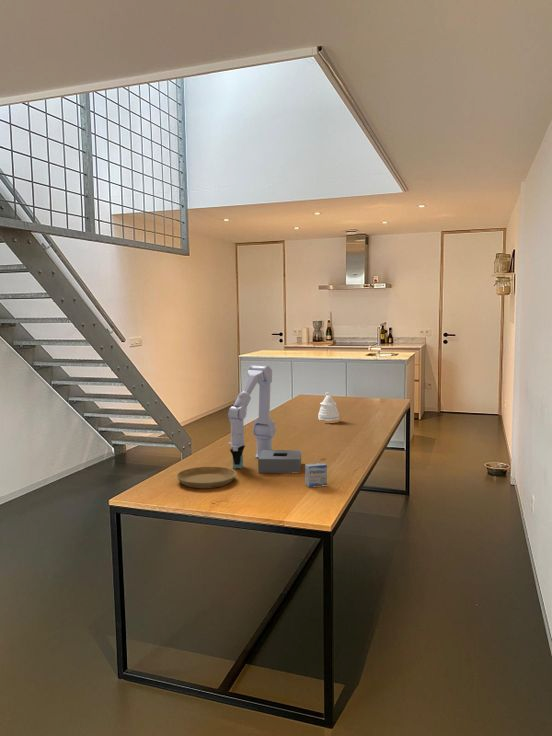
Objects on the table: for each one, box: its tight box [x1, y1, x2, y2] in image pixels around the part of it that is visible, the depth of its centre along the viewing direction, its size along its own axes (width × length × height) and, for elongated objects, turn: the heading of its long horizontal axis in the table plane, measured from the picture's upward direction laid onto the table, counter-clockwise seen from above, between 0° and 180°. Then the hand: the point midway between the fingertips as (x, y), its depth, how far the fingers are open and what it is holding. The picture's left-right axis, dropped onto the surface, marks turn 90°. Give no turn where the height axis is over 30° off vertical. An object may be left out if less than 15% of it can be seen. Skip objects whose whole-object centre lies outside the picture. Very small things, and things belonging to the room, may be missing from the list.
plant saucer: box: [176, 466, 237, 489], centre depth 237 cm, size 24×24×3 cm
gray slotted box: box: [257, 449, 302, 474], centre depth 255 cm, size 16×18×6 cm
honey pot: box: [317, 392, 340, 421], centre depth 356 cm, size 13×13×18 cm
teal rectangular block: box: [232, 454, 244, 469], centre depth 257 cm, size 4×4×5 cm
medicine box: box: [304, 462, 328, 488], centre depth 229 cm, size 8×4×9 cm, turn 105°
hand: (237, 463), depth 257 cm, fingers closed on teal rectangular block, 4 cm apart
